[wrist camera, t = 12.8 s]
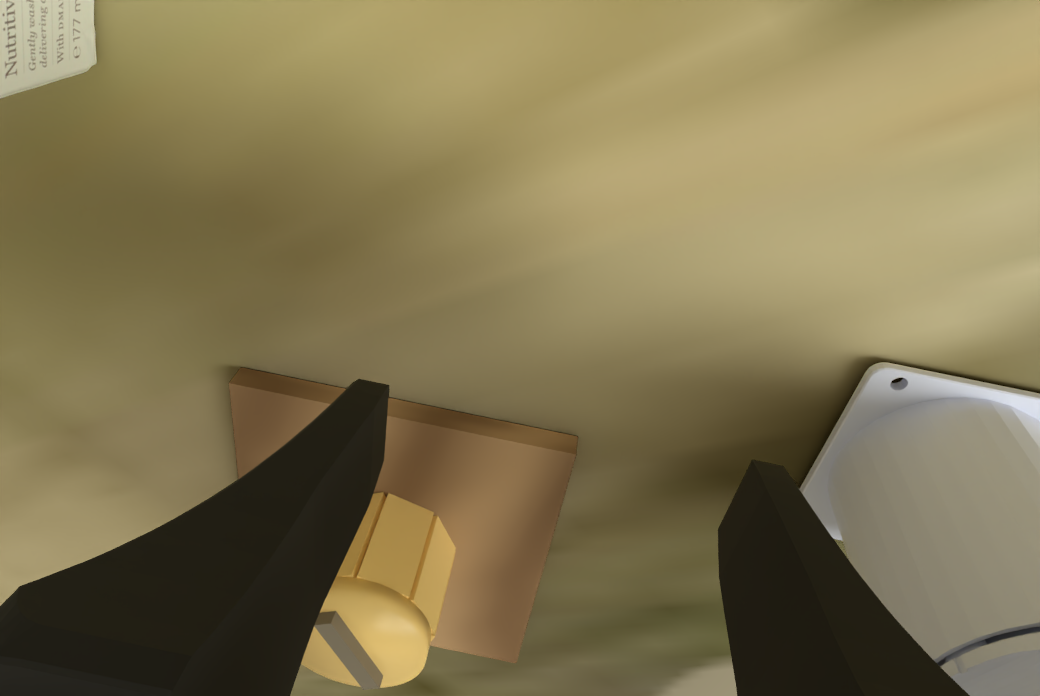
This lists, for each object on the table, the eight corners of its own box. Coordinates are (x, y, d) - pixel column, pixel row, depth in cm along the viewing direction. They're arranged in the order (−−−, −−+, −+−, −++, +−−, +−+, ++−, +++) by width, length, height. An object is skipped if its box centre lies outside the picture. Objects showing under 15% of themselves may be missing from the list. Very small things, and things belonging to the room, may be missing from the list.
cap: (302, 504, 29) (244, 618, 25) (422, 484, 28) (383, 603, 23) (359, 588, 32) (317, 704, 28) (471, 574, 30) (445, 695, 26)
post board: (577, 436, 27) (571, 516, 23) (518, 644, 35) (507, 726, 31) (240, 367, 27) (187, 437, 23) (260, 590, 35) (222, 666, 32)
